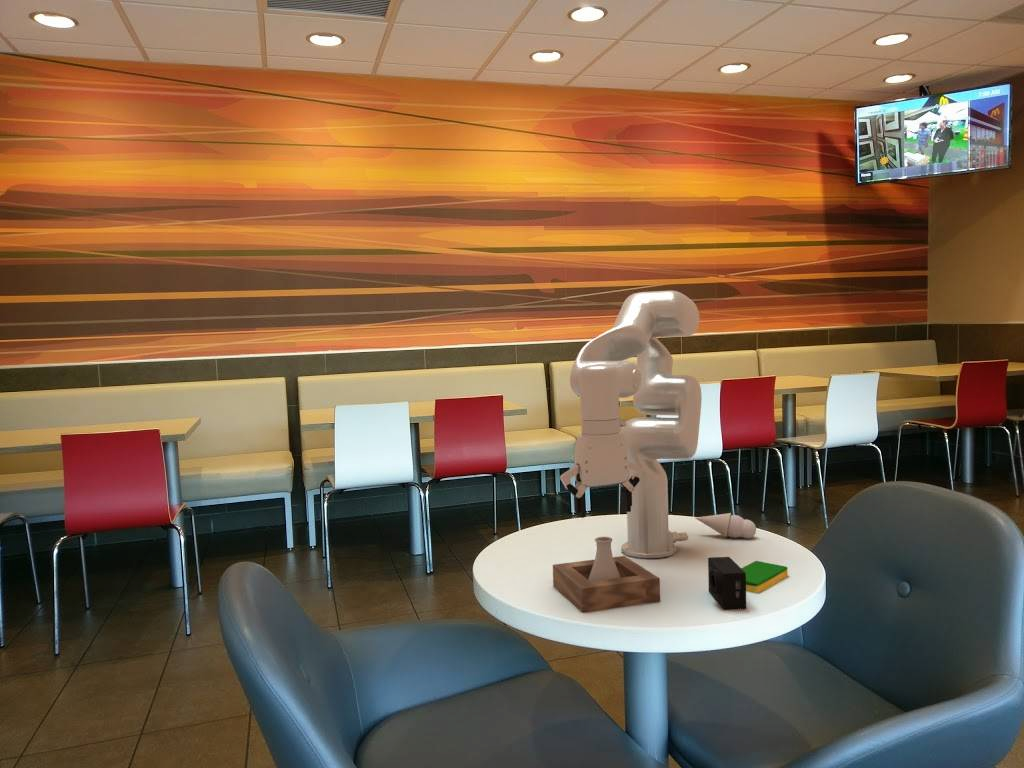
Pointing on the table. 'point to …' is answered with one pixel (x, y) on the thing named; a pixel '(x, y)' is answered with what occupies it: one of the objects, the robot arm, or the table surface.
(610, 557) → the flask
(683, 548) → the table surface
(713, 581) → the digital camera
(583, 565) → the condiment dock
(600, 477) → the robot arm
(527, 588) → the table surface
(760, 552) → the table surface
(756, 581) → the dish sponge
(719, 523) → the ice cream cone
